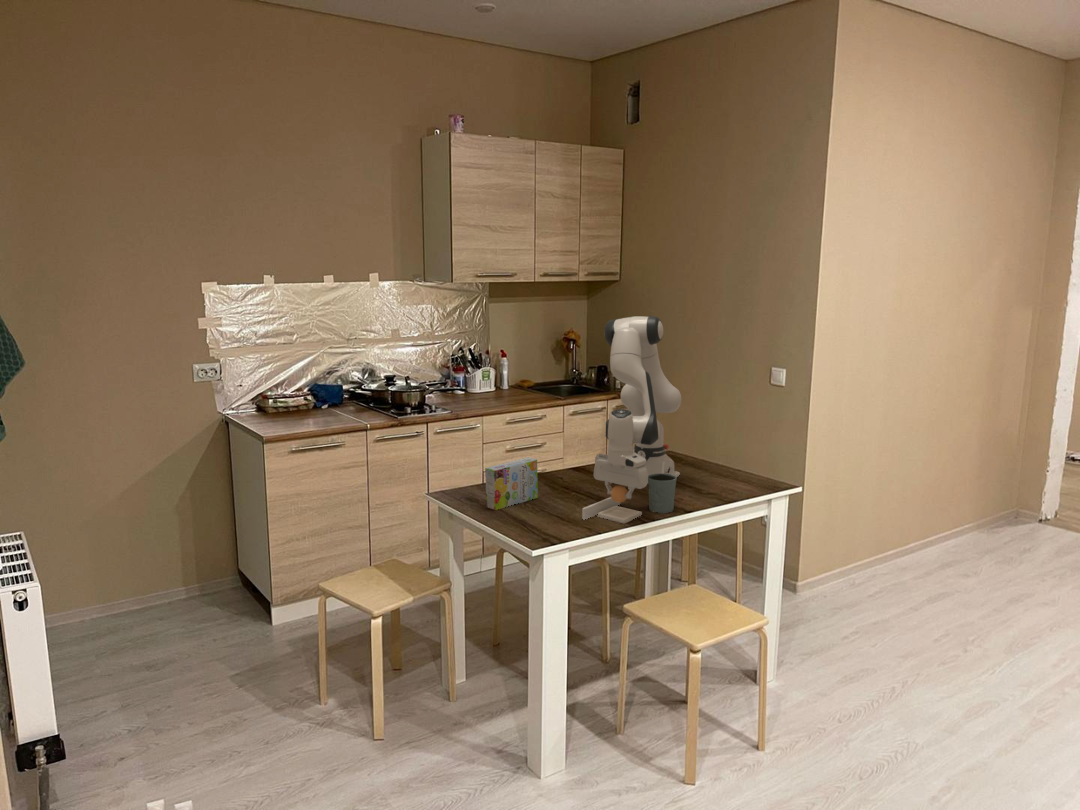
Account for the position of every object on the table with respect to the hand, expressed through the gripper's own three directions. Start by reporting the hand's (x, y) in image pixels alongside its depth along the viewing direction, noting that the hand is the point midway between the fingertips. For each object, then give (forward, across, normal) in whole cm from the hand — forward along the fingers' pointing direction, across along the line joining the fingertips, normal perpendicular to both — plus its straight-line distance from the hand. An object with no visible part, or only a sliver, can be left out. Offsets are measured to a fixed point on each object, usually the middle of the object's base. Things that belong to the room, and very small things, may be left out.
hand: (619, 496), depth 278 cm
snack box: (+8, -39, -12) cm, 41 cm away
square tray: (+7, 0, 0) cm, 7 cm away
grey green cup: (+7, +7, +16) cm, 19 cm away
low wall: (+7, -7, 0) cm, 10 cm away
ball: (-1, 0, 0) cm, 1 cm away
